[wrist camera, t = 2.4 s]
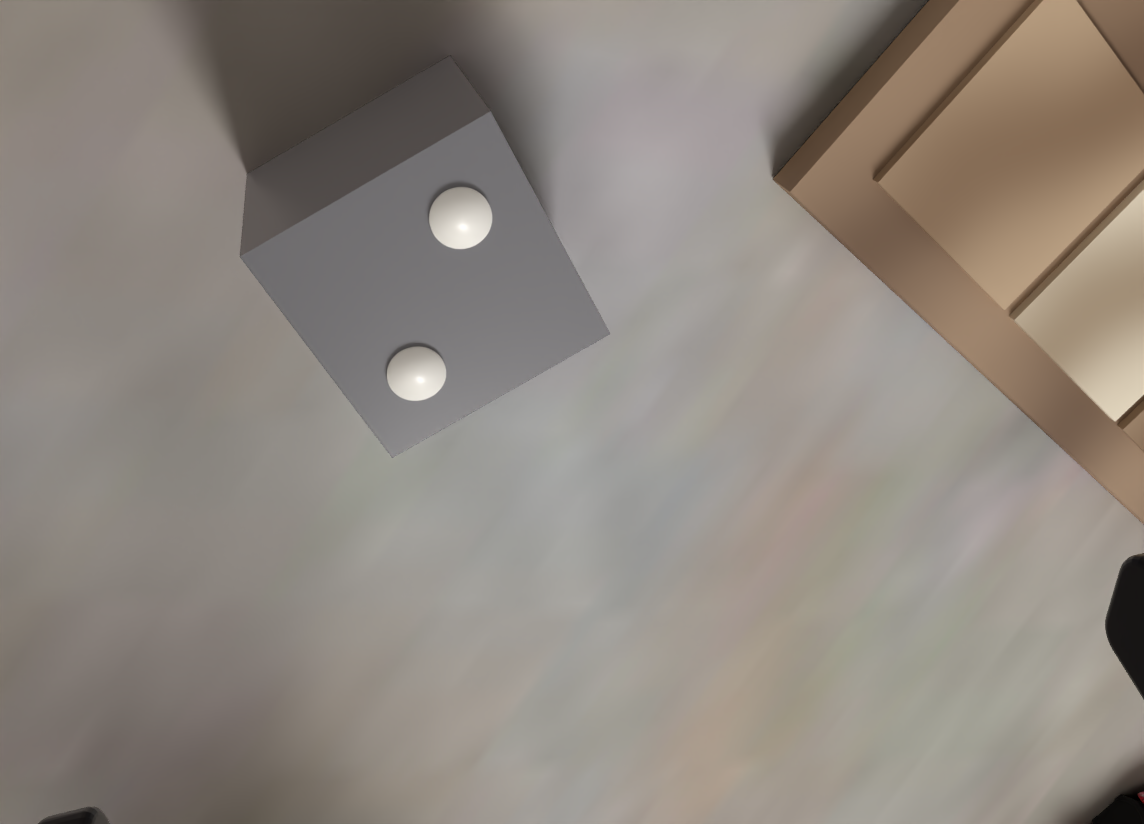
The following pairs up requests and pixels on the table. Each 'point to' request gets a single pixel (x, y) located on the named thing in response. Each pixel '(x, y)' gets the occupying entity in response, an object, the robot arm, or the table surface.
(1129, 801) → the race car
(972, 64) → the board
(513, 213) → the die
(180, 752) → the table surface
